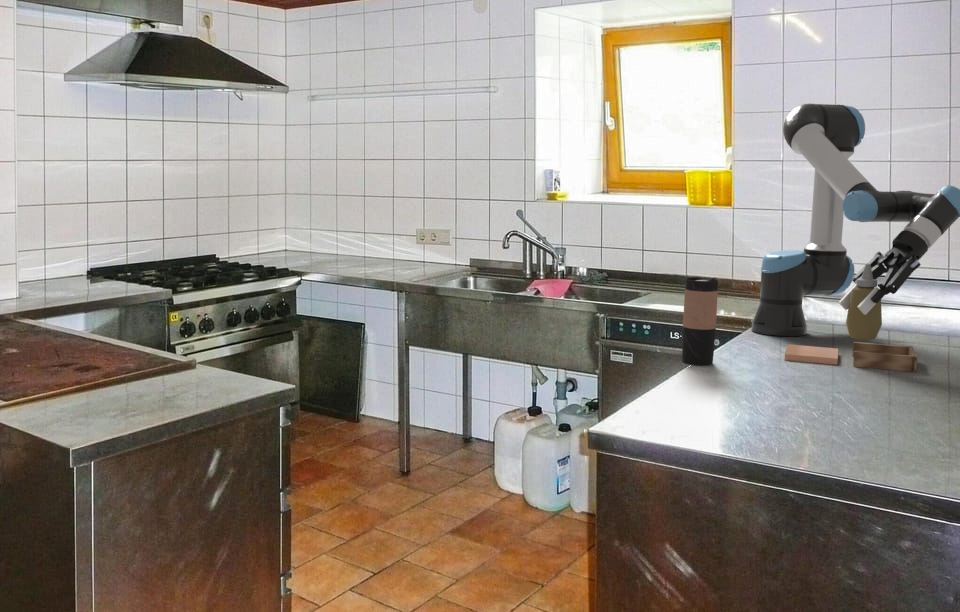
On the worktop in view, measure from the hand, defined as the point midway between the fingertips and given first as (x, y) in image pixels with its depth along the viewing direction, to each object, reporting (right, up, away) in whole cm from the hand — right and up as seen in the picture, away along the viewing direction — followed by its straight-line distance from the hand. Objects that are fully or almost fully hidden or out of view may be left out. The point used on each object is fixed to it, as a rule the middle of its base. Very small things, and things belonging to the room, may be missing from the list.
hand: (851, 308), depth 215 cm
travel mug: (-38, -13, -2) cm, 40 cm away
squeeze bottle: (+3, -7, +2) cm, 8 cm away
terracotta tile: (-7, -12, +8) cm, 16 cm away
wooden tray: (+8, -13, +2) cm, 16 cm away
